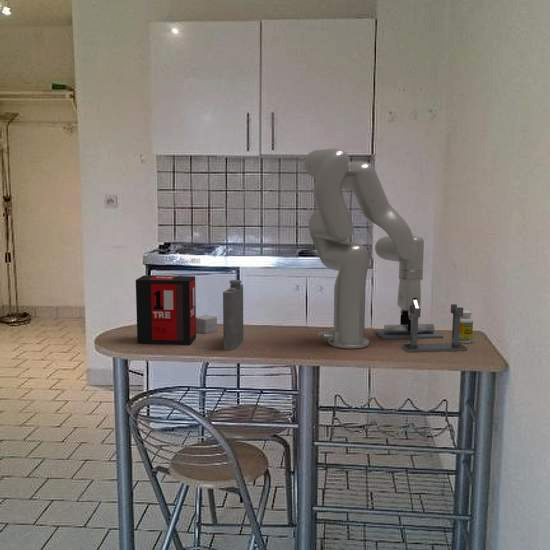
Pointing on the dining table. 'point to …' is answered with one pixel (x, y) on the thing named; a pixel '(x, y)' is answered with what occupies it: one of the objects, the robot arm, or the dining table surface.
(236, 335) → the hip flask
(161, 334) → the cleaning product box
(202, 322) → the small box
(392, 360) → the dining table surface
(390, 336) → the slate mat
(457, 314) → the hook stand
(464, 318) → the supplement bottle
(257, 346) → the dining table surface
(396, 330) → the grey metallic bar
